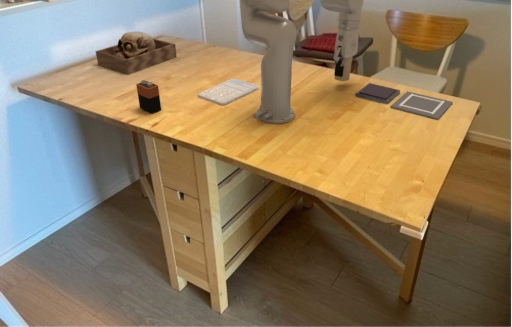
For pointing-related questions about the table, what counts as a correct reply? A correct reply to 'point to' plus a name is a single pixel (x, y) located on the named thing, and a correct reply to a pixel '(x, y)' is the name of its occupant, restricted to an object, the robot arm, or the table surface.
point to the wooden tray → (136, 58)
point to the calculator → (228, 92)
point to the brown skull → (134, 44)
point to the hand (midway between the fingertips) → (342, 73)
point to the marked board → (422, 105)
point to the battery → (148, 96)
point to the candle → (345, 70)
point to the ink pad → (377, 93)
